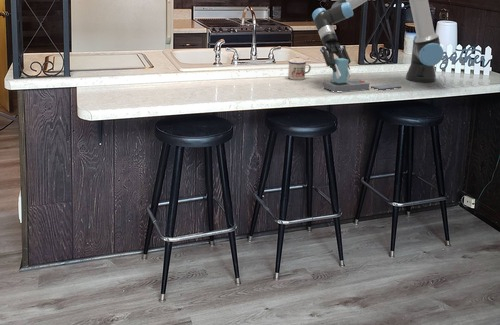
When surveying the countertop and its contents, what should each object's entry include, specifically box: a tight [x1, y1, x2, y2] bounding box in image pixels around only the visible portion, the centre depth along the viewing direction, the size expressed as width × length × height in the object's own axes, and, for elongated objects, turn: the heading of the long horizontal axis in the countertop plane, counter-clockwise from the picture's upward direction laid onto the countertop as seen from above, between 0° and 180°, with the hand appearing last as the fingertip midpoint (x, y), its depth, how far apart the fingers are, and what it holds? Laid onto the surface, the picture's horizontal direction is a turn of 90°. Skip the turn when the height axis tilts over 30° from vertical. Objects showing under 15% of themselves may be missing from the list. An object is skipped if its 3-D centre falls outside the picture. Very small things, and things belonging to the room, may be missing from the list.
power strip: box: [322, 78, 371, 93], centre depth 316 cm, size 20×10×4 cm, turn 116°
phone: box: [370, 83, 402, 91], centre depth 321 cm, size 14×7×1 cm, turn 121°
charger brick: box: [331, 57, 348, 83], centre depth 312 cm, size 5×5×11 cm
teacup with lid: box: [287, 55, 312, 81], centre depth 335 cm, size 12×9×12 cm
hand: (344, 76), depth 310 cm, fingers closed on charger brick, 5 cm apart
